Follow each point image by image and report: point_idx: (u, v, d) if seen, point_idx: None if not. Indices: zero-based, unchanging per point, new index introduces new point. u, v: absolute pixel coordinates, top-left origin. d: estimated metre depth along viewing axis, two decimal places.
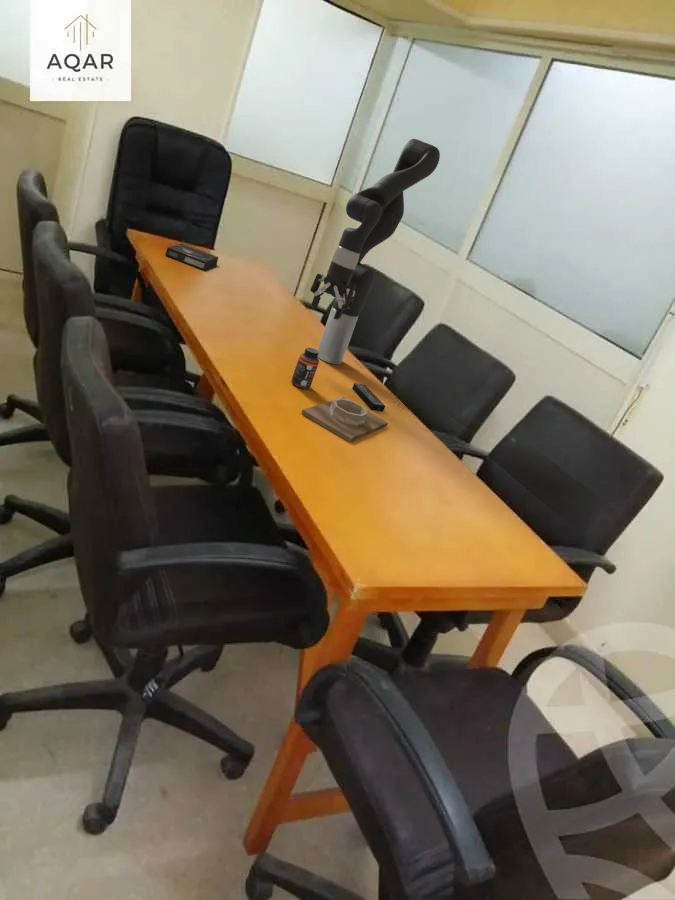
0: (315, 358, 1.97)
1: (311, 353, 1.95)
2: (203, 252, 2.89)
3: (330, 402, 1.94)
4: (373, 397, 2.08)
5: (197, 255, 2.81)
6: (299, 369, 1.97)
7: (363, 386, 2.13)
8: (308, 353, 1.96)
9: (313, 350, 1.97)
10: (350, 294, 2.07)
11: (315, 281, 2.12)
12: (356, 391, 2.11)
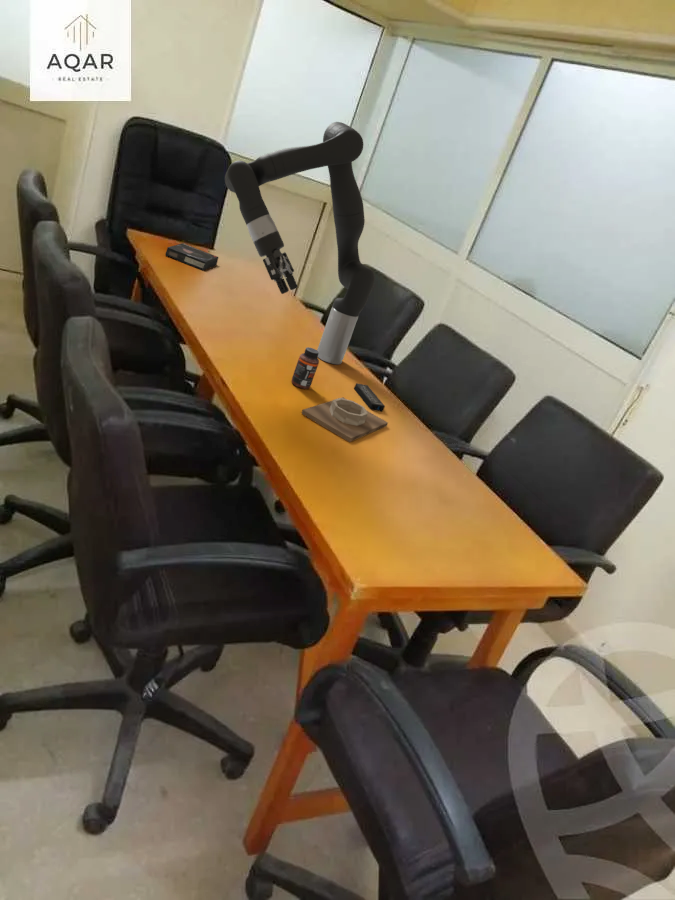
0: (315, 358, 1.97)
1: (311, 353, 1.95)
2: (203, 252, 2.89)
3: (330, 402, 1.94)
4: (373, 397, 2.08)
5: (197, 255, 2.81)
6: (299, 369, 1.97)
7: (365, 387, 2.14)
8: (308, 353, 1.96)
9: (313, 350, 1.97)
10: None
11: None
12: (357, 391, 2.12)
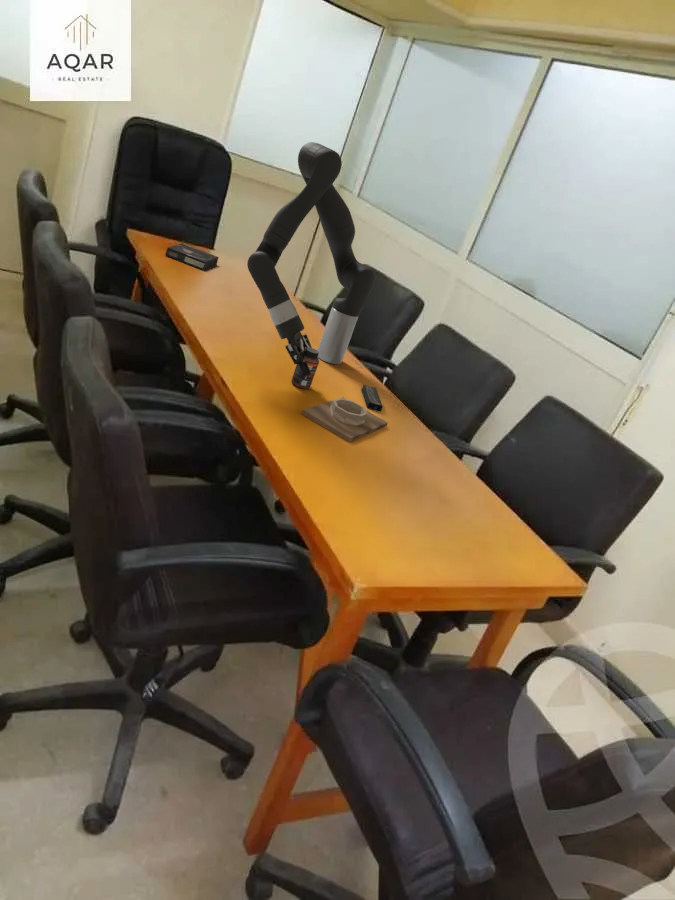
0: (315, 358, 1.97)
1: (311, 353, 1.95)
2: (203, 252, 2.89)
3: (330, 402, 1.94)
4: (375, 397, 2.08)
5: (197, 255, 2.81)
6: (299, 369, 1.97)
7: (372, 388, 2.14)
8: (308, 353, 1.96)
9: (313, 350, 1.97)
10: None
11: None
12: (363, 391, 2.13)
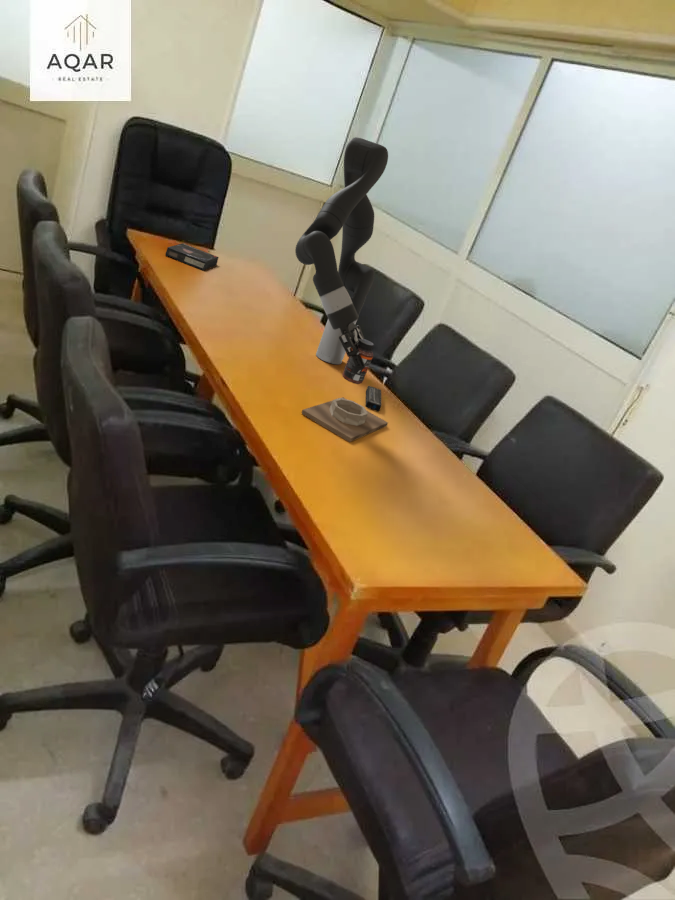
0: (370, 350, 1.81)
1: (366, 345, 1.79)
2: (203, 252, 2.89)
3: (330, 402, 1.94)
4: (375, 398, 2.08)
5: (197, 255, 2.81)
6: (352, 363, 1.81)
7: (376, 389, 2.14)
8: (362, 344, 1.79)
9: (367, 342, 1.81)
10: None
11: None
12: (366, 392, 2.14)
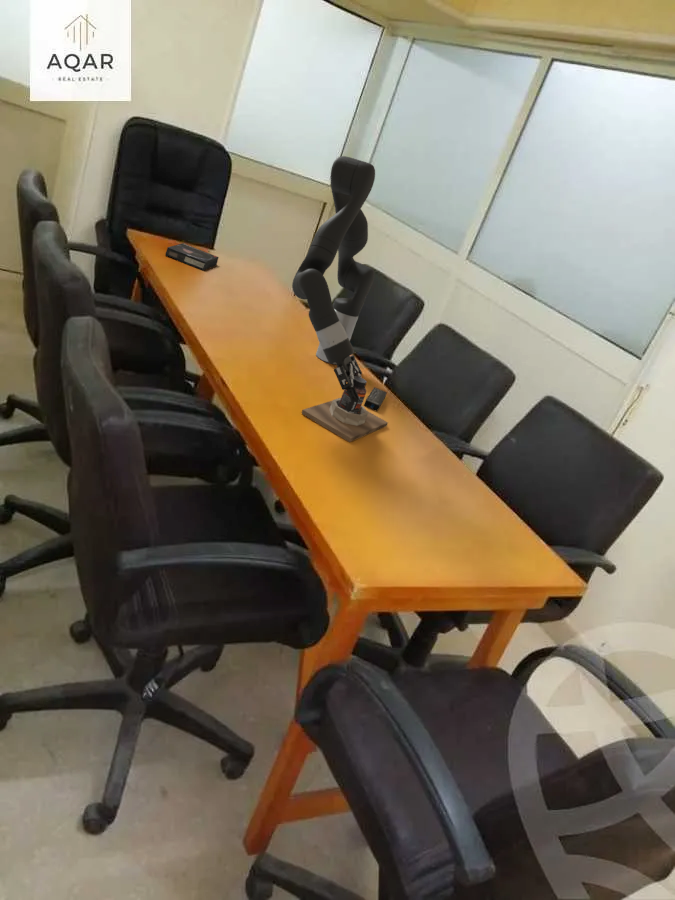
0: (363, 388, 1.84)
1: (359, 383, 1.83)
2: (203, 252, 2.89)
3: (330, 402, 1.94)
4: (376, 398, 2.08)
5: (197, 255, 2.81)
6: (346, 400, 1.85)
7: (381, 391, 2.14)
8: (356, 382, 1.83)
9: (360, 379, 1.85)
10: None
11: None
12: None
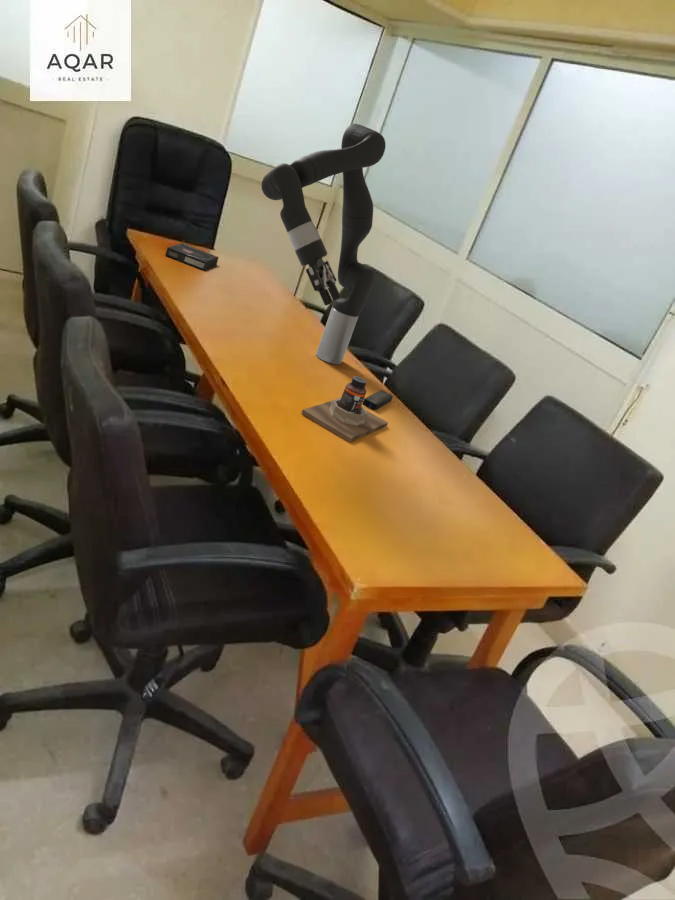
0: (363, 388, 1.84)
1: (359, 383, 1.83)
2: (203, 252, 2.89)
3: (330, 402, 1.94)
4: (377, 399, 2.08)
5: (197, 255, 2.81)
6: (346, 400, 1.85)
7: (386, 394, 2.14)
8: (356, 382, 1.83)
9: (360, 379, 1.84)
10: None
11: None
12: None
